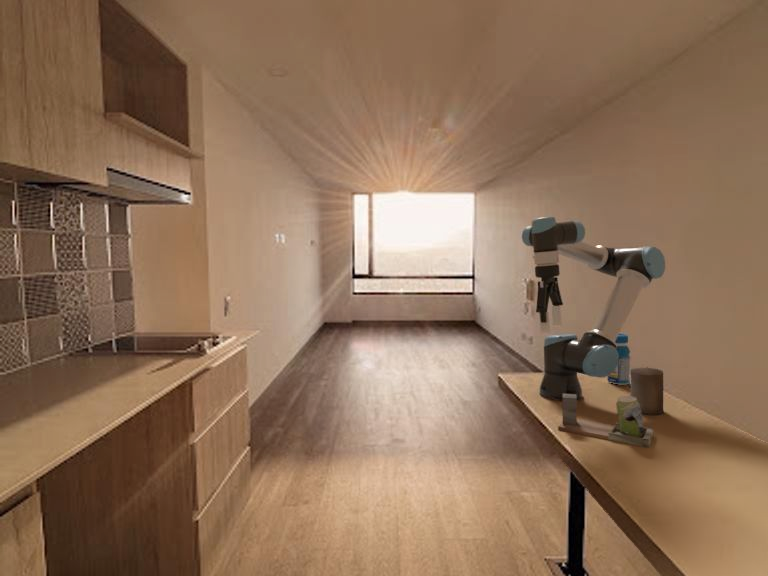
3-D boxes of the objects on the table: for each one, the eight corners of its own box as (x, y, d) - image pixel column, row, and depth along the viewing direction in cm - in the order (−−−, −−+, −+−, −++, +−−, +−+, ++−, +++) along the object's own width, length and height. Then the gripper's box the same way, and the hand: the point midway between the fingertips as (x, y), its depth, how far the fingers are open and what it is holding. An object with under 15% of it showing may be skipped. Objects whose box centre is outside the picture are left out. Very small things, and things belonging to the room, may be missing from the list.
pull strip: (565, 419, 147) (565, 390, 147) (653, 435, 133) (653, 403, 132) (556, 429, 140) (556, 398, 139) (648, 447, 125) (649, 413, 124)
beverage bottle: (629, 386, 183) (629, 337, 182) (606, 384, 187) (606, 335, 186) (630, 381, 190) (630, 333, 189) (608, 379, 195) (608, 332, 193)
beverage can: (649, 442, 128) (649, 400, 128) (623, 443, 128) (623, 401, 127) (636, 434, 135) (637, 394, 134) (611, 435, 134) (612, 394, 134)
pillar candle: (670, 412, 153) (670, 367, 152) (651, 417, 148) (651, 371, 148) (642, 404, 161) (642, 362, 161) (623, 409, 157) (623, 365, 156)
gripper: (546, 262, 163) (551, 321, 164) (522, 268, 143) (527, 335, 144) (568, 261, 158) (573, 321, 160) (546, 266, 138) (552, 336, 140)
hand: (551, 328), depth 152 cm, fingers open, 13 cm apart
